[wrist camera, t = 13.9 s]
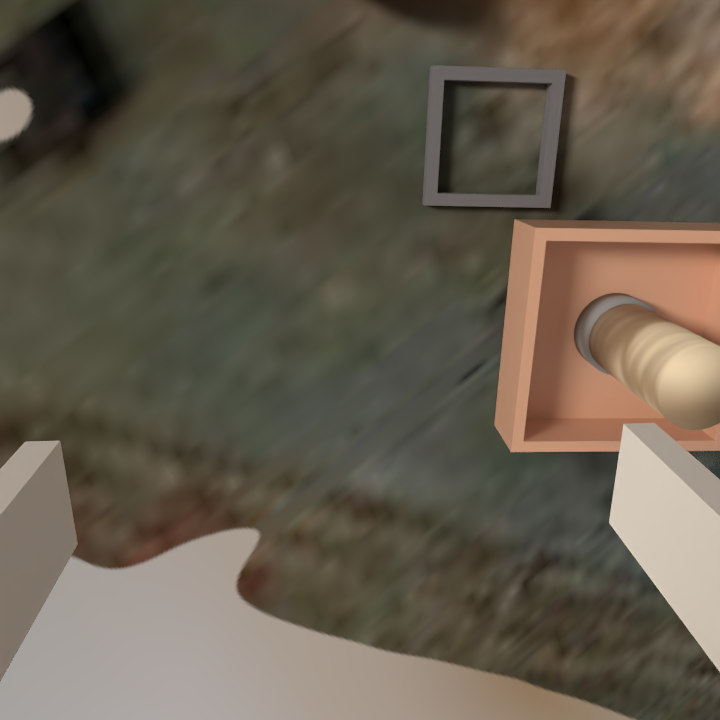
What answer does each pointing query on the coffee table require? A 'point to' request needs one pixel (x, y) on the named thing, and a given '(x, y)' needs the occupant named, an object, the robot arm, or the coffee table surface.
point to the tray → (562, 308)
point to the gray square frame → (548, 141)
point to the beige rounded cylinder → (652, 359)
